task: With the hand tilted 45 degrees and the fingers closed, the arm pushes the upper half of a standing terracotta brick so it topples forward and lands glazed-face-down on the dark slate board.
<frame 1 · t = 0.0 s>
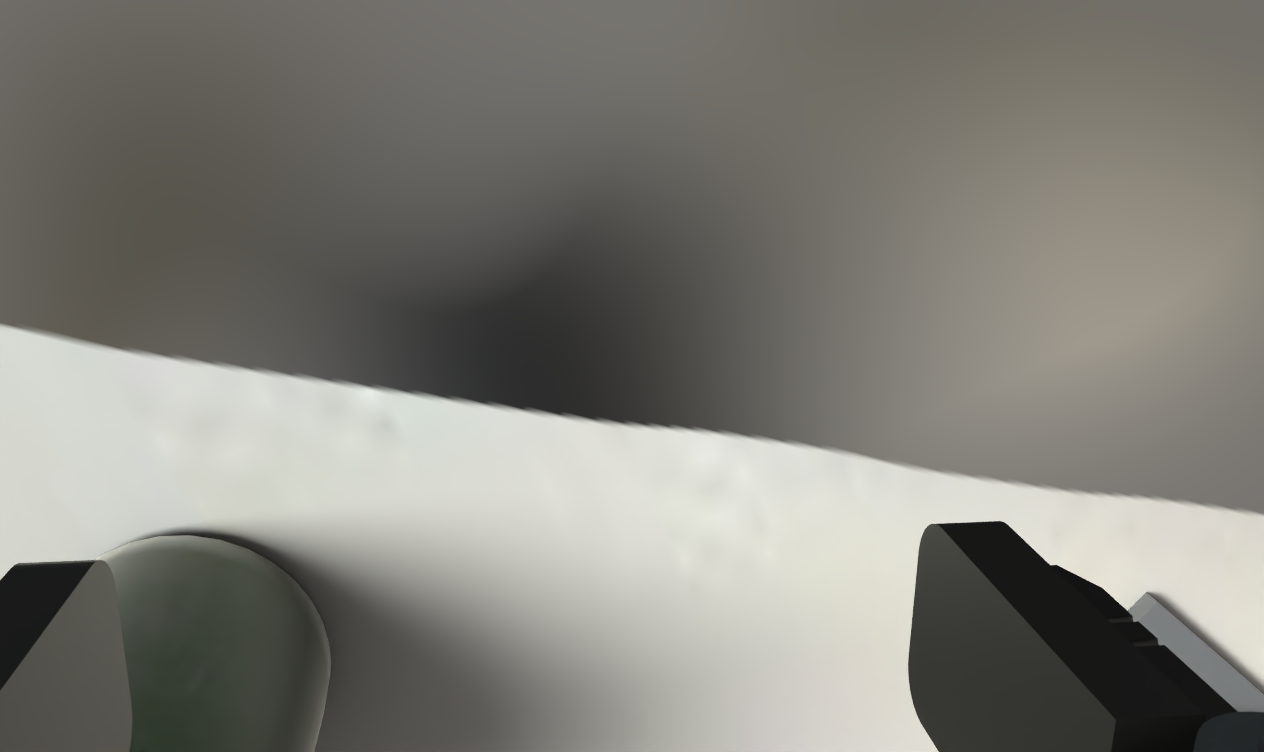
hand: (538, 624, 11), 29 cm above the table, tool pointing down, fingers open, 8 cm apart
beer bottle: (194, 649, 43), on the table
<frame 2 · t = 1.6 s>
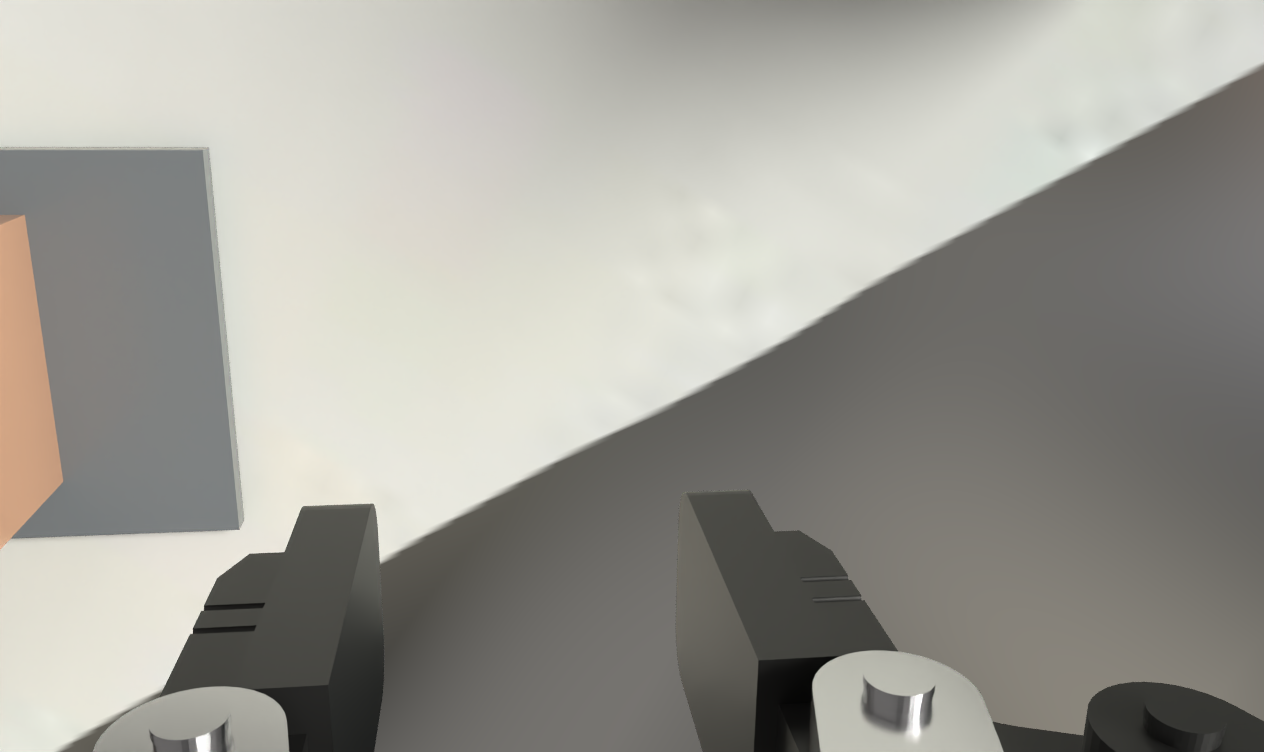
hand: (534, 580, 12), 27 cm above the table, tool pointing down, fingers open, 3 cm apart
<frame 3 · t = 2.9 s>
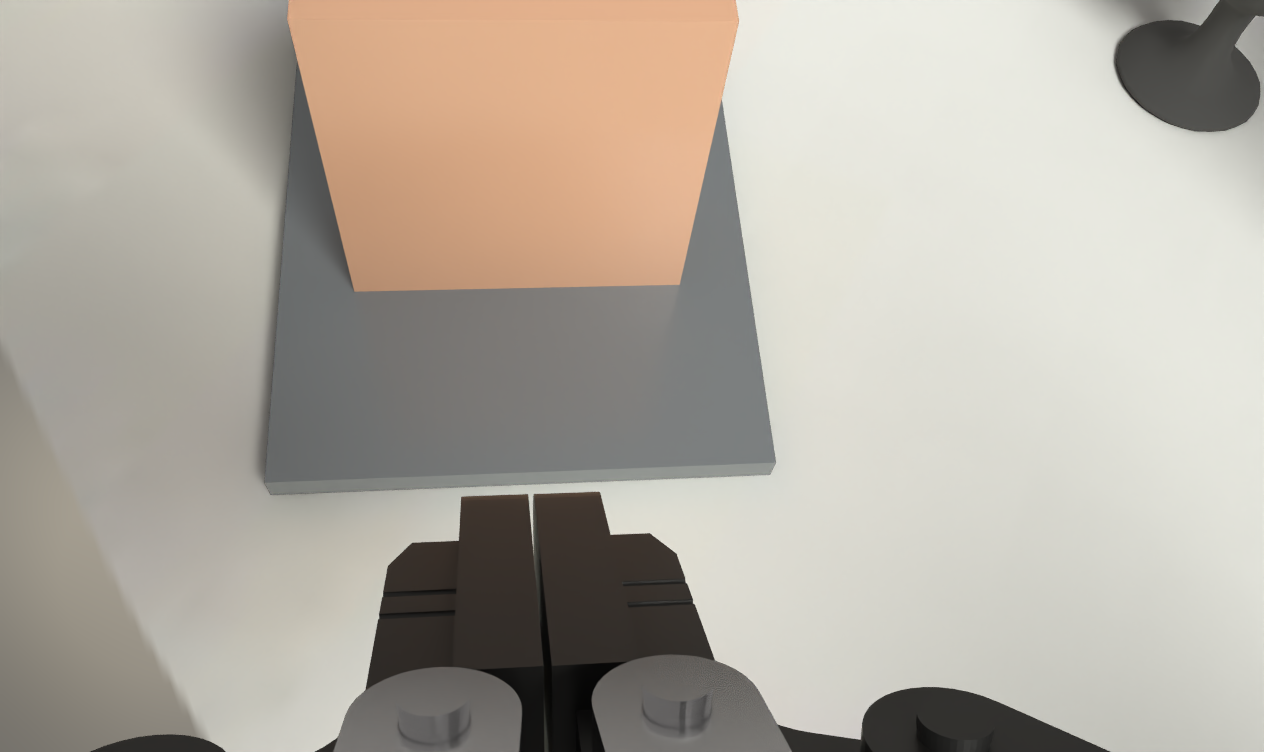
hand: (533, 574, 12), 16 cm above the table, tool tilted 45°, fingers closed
terracotta brick: (517, 246, 32), point 1 cm above the table, touching slate board
sundae: (1184, 82, 39), on the table
slate board: (513, 151, 35), on the table
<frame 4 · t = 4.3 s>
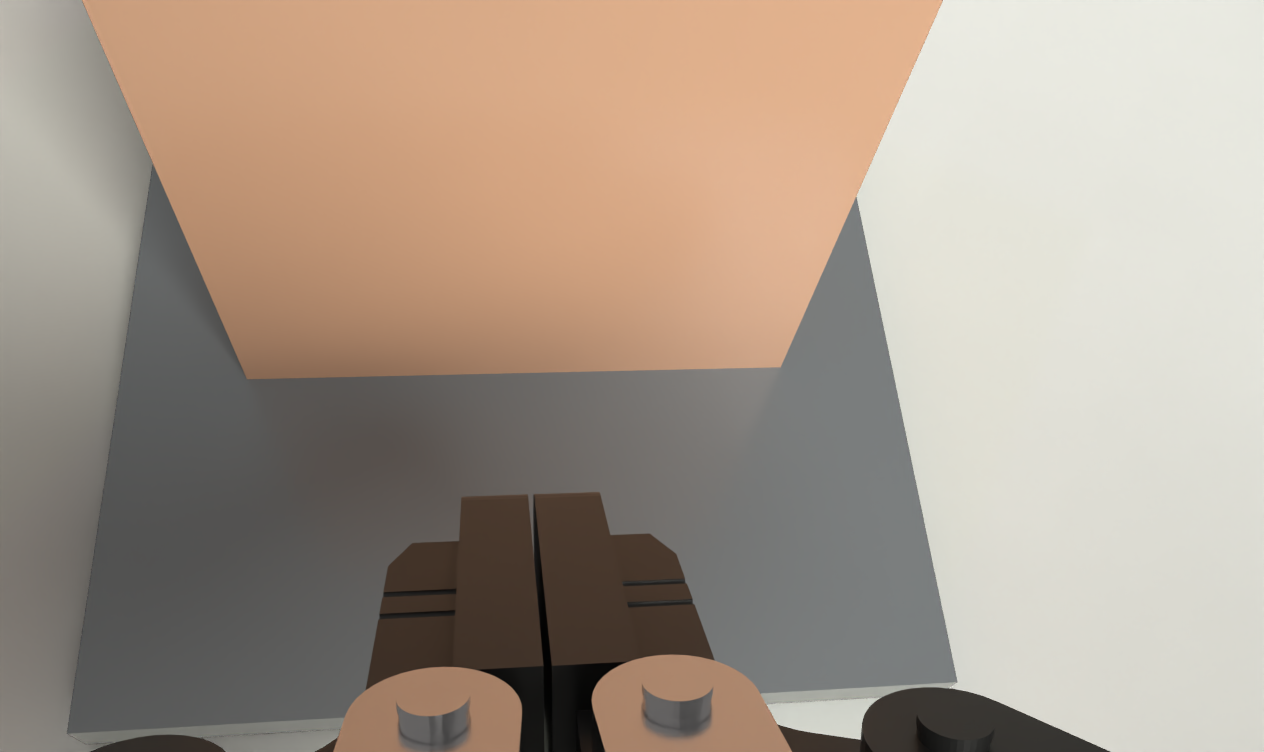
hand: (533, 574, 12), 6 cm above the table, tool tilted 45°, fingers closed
terracotta brick: (518, 302, 20), point 1 cm above the table, touching slate board
slate board: (512, 149, 22), on the table
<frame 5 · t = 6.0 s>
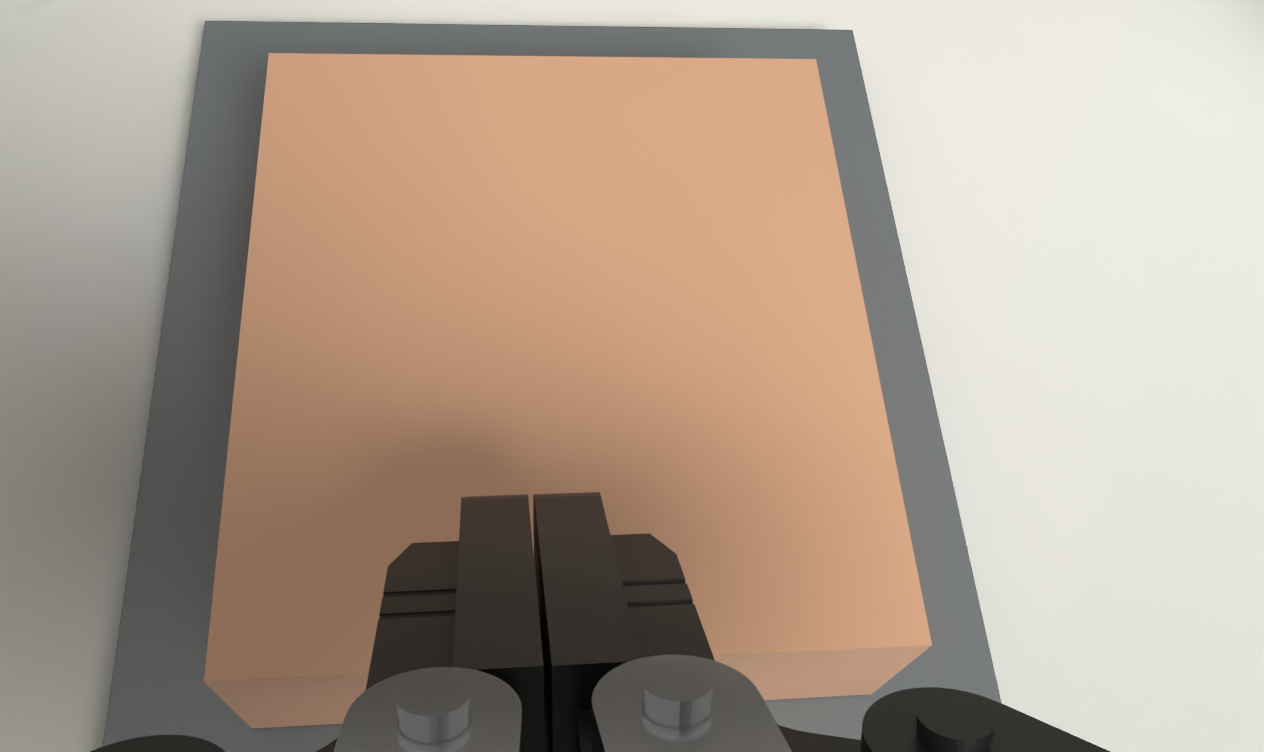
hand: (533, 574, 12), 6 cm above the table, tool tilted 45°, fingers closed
terracotta brick: (575, 688, 15), point 2 cm above the table, tilted 90°, touching slate board
slate board: (561, 561, 18), on the table
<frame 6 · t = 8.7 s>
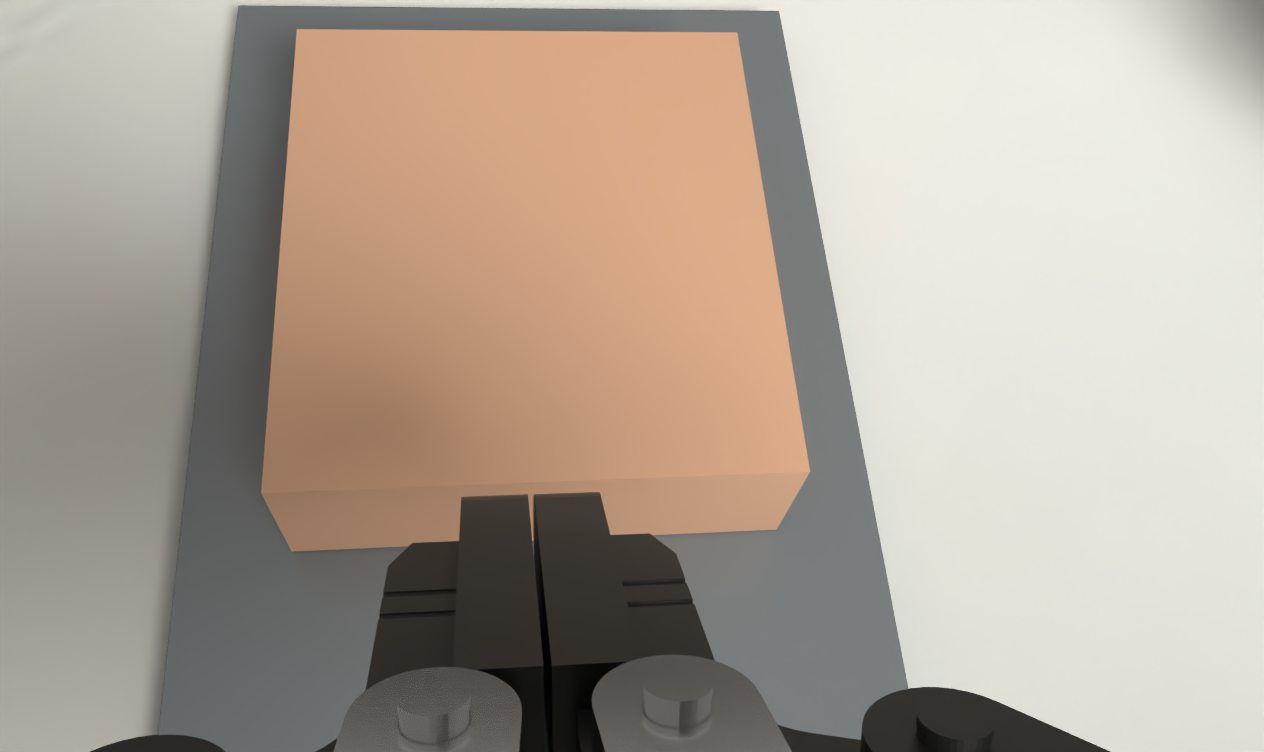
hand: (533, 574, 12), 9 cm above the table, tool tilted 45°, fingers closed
terracotta brick: (541, 513, 20), point 2 cm above the table, tilted 90°, touching slate board
slate board: (533, 434, 23), on the table
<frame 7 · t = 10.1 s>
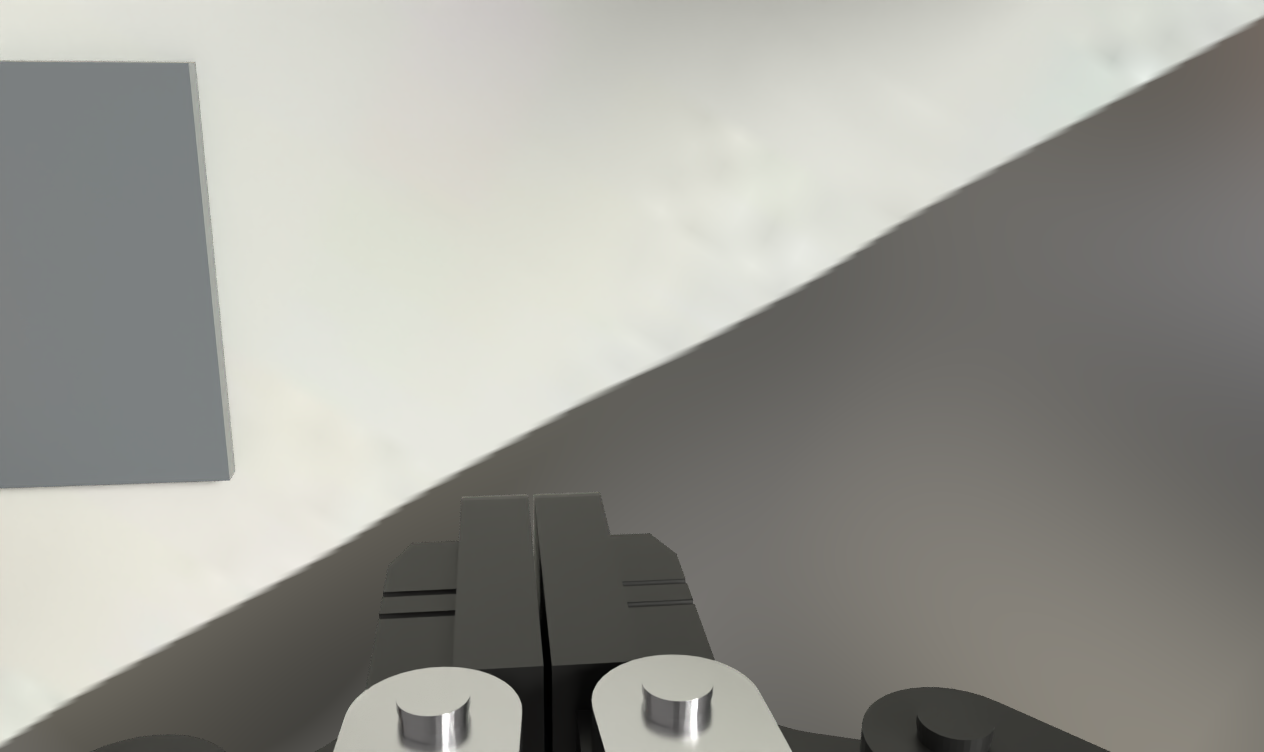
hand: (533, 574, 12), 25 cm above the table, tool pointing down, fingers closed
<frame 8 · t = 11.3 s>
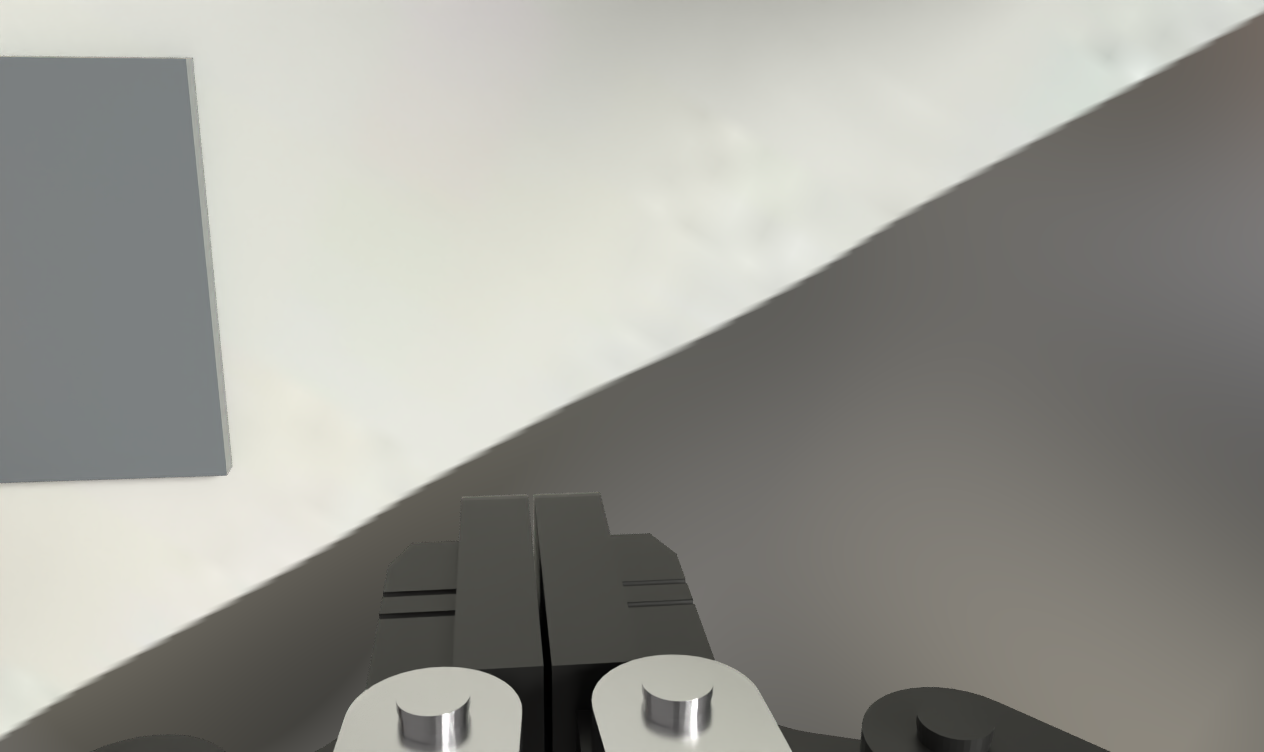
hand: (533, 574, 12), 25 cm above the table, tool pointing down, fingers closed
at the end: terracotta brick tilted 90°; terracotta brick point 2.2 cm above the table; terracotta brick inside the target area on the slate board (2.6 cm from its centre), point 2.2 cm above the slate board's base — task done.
